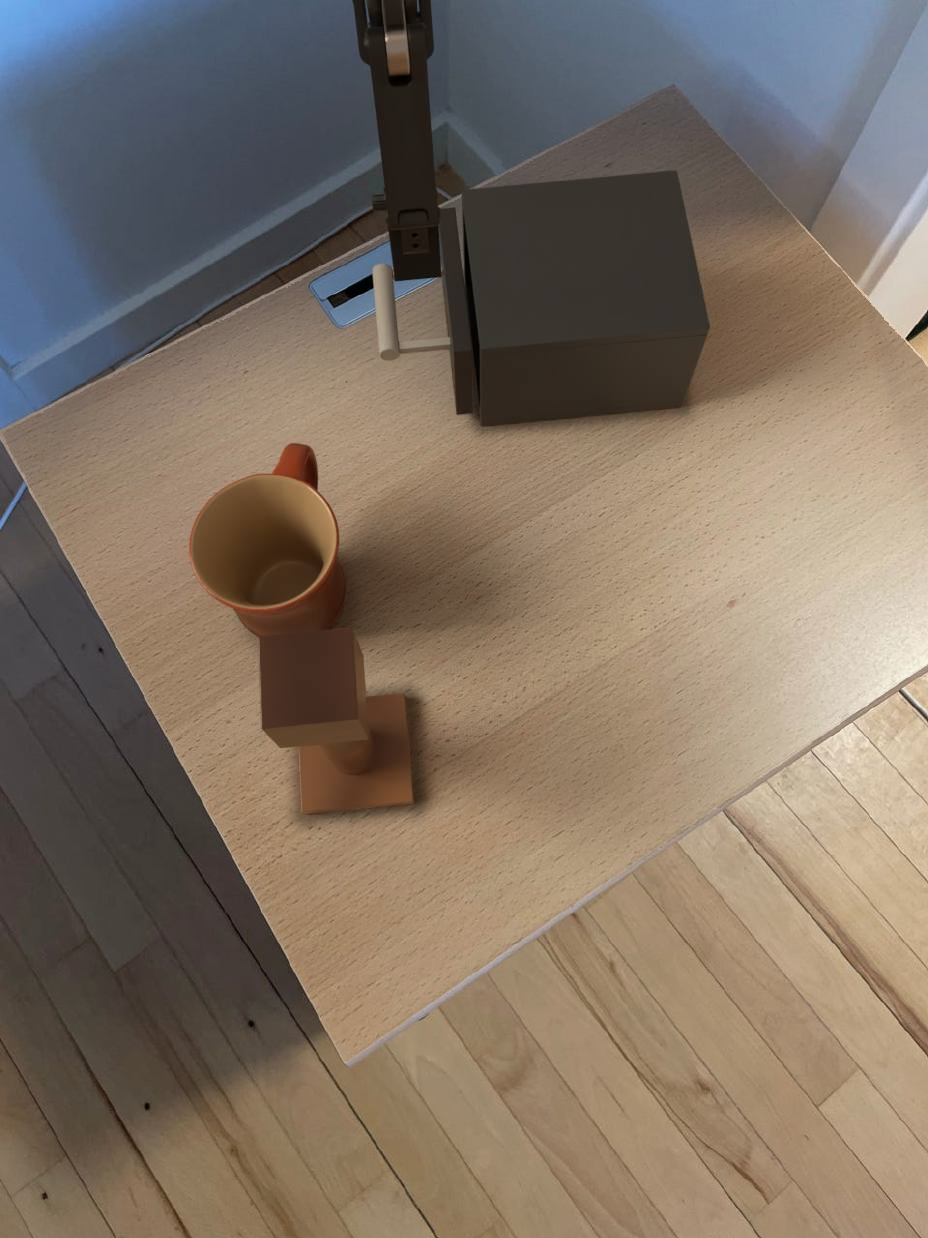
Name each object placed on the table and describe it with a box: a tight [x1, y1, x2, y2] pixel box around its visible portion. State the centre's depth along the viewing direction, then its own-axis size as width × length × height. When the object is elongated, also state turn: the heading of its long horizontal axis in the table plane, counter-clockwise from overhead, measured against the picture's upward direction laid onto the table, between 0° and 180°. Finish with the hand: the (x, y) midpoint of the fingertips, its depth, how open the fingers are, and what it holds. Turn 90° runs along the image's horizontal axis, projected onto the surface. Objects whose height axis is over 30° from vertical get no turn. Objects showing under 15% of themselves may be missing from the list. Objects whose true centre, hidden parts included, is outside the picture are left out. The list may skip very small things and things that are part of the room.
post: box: [298, 692, 415, 815], centre depth 57 cm, size 7×7×14 cm
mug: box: [188, 442, 347, 638], centre depth 63 cm, size 12×9×10 cm
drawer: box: [372, 206, 474, 416], centre depth 69 cm, size 18×11×8 cm, turn 96°
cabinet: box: [461, 169, 711, 427], centre depth 69 cm, size 15×13×10 cm
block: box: [257, 626, 369, 749], centre depth 48 cm, size 4×4×4 cm
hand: (411, 206), depth 58 cm, fingers open, 9 cm apart
